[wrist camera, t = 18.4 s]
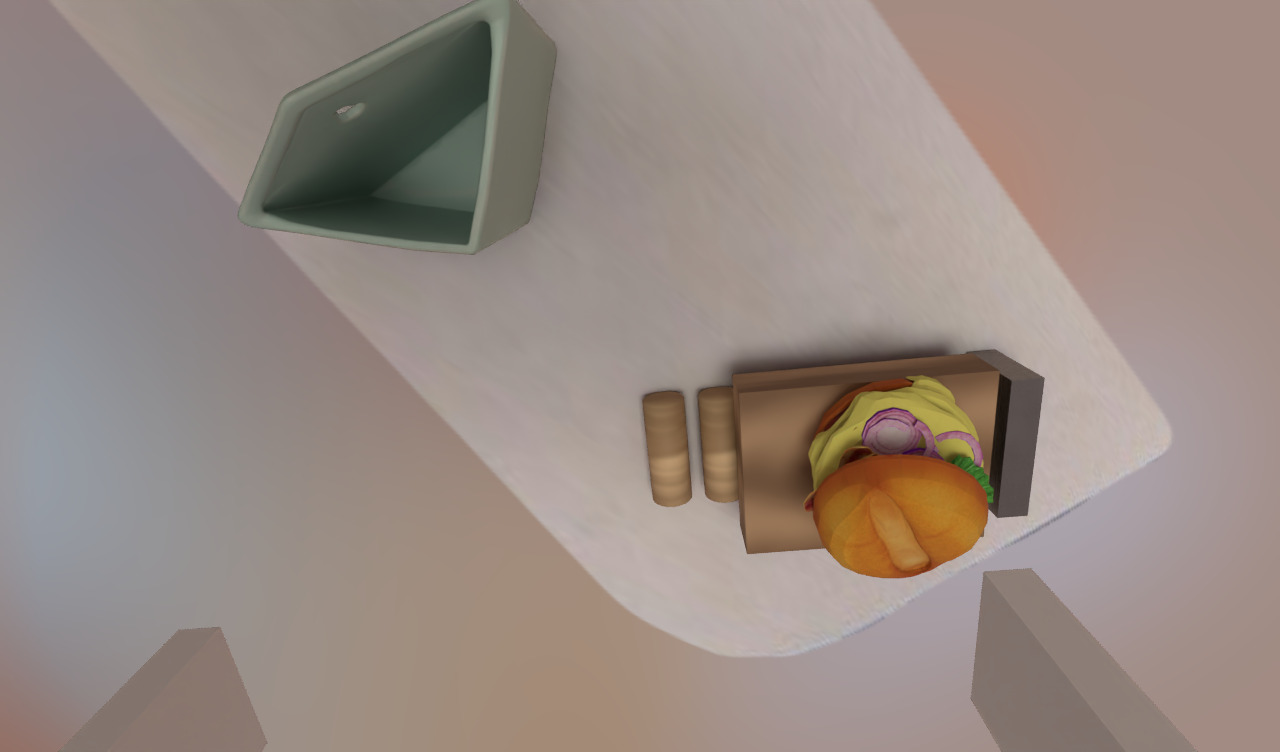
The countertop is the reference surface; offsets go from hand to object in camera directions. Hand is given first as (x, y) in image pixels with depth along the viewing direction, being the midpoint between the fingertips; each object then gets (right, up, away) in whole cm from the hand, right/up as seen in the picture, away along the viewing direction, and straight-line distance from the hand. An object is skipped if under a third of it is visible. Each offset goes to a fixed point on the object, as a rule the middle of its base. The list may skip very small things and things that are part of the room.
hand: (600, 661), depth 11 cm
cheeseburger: (+16, 0, +30) cm, 34 cm away
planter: (-9, +18, +31) cm, 37 cm away
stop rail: (+26, +2, +36) cm, 44 cm away
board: (+16, 0, +33) cm, 37 cm away
